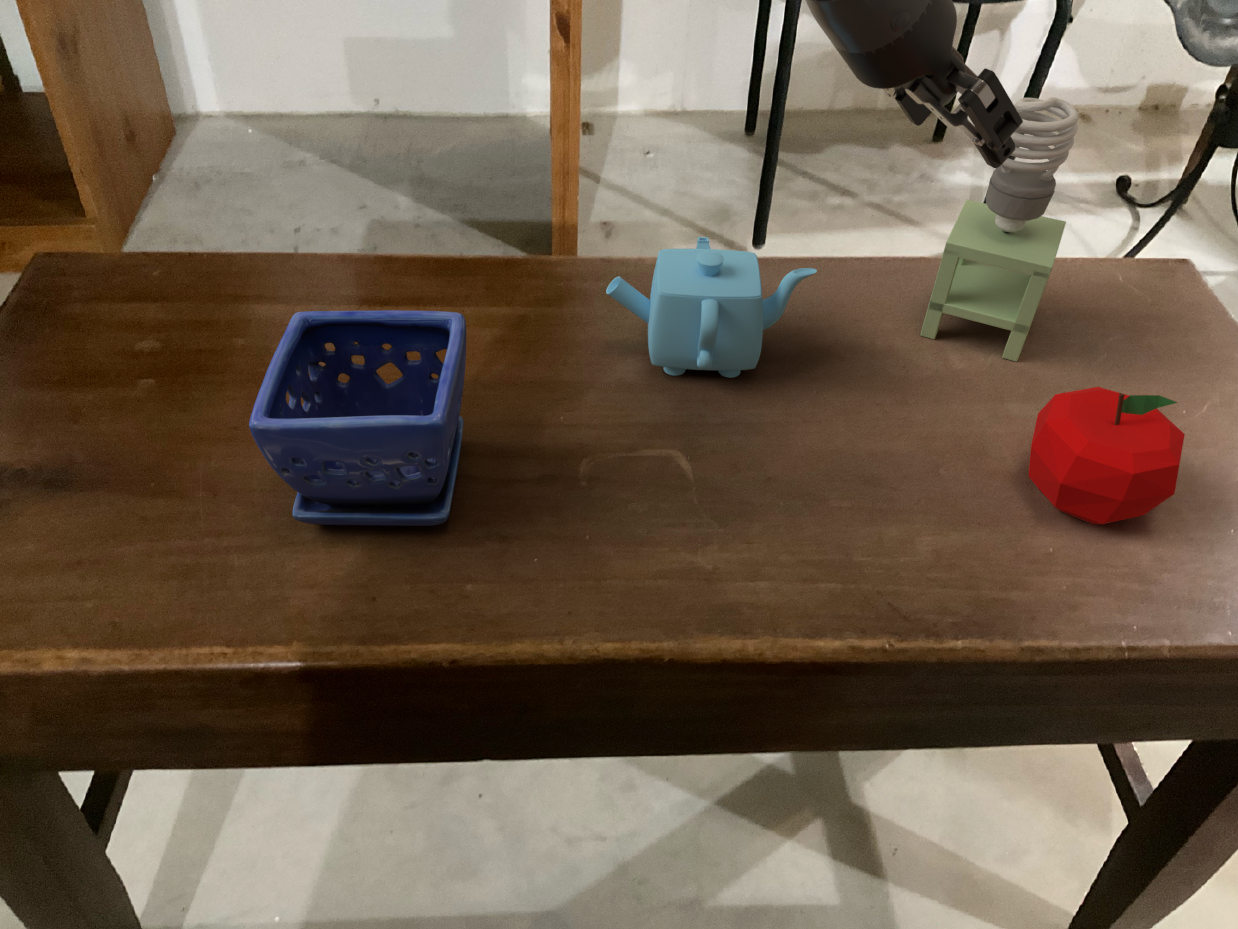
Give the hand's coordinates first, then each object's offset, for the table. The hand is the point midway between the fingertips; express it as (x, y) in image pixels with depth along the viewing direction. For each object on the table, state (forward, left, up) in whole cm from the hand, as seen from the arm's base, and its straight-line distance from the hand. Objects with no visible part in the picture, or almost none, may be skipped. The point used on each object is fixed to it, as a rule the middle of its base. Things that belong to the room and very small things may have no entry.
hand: (962, 135), depth 74 cm
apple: (-17, +12, -21) cm, 30 cm away
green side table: (-5, -8, -21) cm, 23 cm away
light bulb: (-5, -8, -11) cm, 14 cm away
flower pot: (+32, +36, -21) cm, 52 cm away
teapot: (+17, +8, -21) cm, 28 cm away
